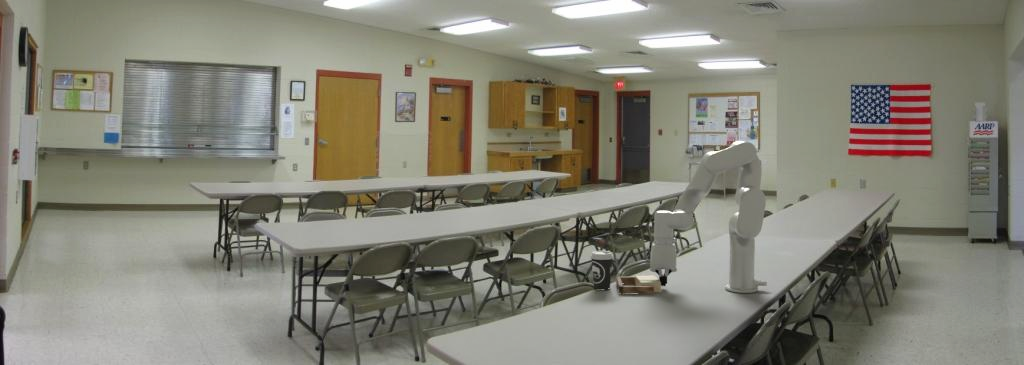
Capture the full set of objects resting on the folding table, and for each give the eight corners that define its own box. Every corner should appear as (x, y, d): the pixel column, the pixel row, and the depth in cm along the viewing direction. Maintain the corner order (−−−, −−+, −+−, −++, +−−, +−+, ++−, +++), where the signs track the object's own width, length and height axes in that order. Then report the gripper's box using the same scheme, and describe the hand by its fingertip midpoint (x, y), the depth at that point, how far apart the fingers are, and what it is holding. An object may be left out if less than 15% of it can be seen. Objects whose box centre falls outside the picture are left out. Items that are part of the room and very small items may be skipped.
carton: (654, 286, 275) (654, 275, 275) (660, 293, 263) (660, 281, 263) (635, 286, 275) (635, 275, 275) (640, 293, 263) (640, 282, 263)
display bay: (648, 283, 278) (648, 276, 278) (653, 294, 260) (653, 286, 260) (616, 283, 279) (616, 276, 279) (619, 294, 261) (619, 286, 261)
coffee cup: (613, 291, 265) (613, 255, 264) (589, 290, 267) (589, 254, 266) (614, 286, 274) (614, 250, 273) (591, 285, 276) (591, 250, 275)
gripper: (680, 239, 270) (680, 283, 271) (643, 239, 271) (643, 283, 273) (683, 242, 262) (683, 288, 264) (645, 242, 264) (645, 287, 265)
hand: (663, 285), depth 268 cm, fingers closed
